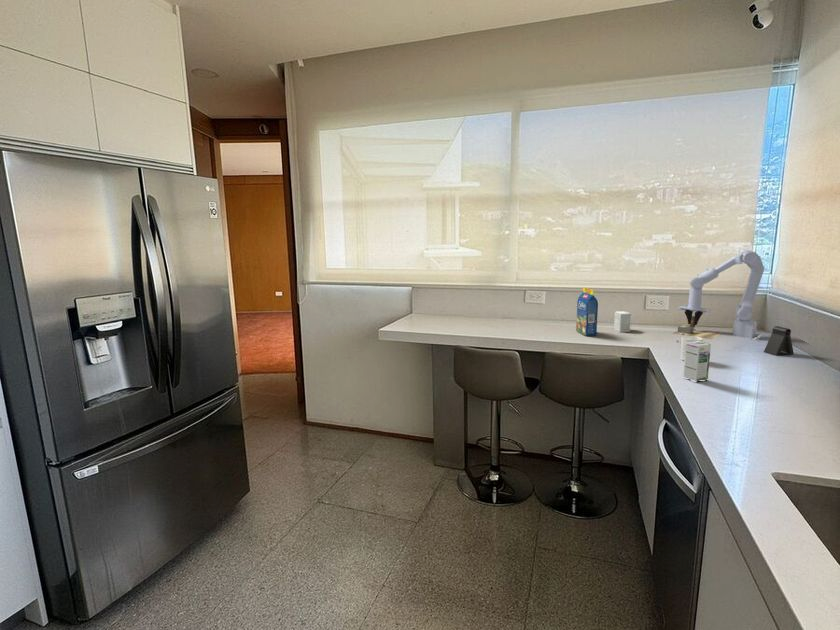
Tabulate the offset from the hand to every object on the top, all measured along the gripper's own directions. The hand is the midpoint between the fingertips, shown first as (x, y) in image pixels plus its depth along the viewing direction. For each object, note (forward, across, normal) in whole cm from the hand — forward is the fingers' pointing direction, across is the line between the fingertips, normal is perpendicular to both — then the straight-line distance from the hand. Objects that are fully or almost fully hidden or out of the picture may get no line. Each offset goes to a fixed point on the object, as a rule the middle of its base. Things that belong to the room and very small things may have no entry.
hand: (692, 324), depth 237 cm
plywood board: (+5, -4, +4) cm, 8 cm away
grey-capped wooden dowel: (+2, 0, 0) cm, 2 cm away
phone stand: (+5, -41, +16) cm, 44 cm away
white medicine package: (+5, -19, +54) cm, 58 cm away
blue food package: (+5, +38, +42) cm, 56 cm away
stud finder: (+4, +1, +6) cm, 7 cm away
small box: (+5, +28, +22) cm, 36 cm away
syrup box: (+5, -30, +80) cm, 85 cm away
